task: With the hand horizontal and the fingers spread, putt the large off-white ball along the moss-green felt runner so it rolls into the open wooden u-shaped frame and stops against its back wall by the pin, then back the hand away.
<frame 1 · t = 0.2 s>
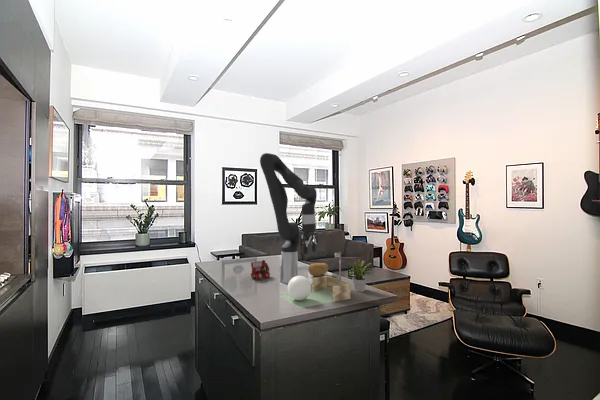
hand: (309, 252, 174), 17 cm above the countertop, tool pointing down, fingers open, 8 cm apart
ball: (299, 288, 147), point 6 cm above the countertop, touching green mat
green mat: (326, 295, 154), on the countertop
house plant: (358, 291, 162), on the countertop
wooden u-shaped frame: (326, 295, 154), resting on green mat
toy fire truck: (260, 278, 189), on the countertop
potato: (318, 276, 194), on the countertop
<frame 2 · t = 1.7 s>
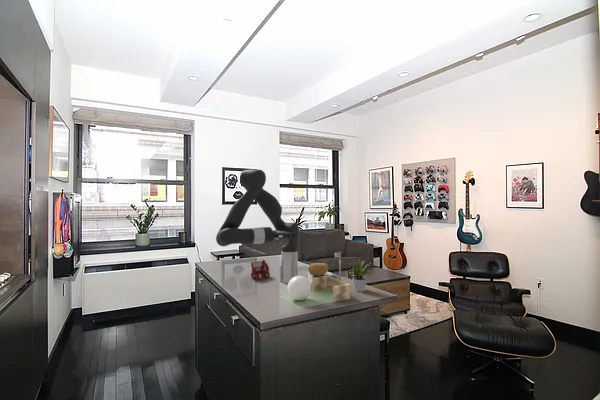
hand: (292, 234, 155), 30 cm above the countertop, tool horizontal, fingers open, 8 cm apart
nothing on the countertop moved.
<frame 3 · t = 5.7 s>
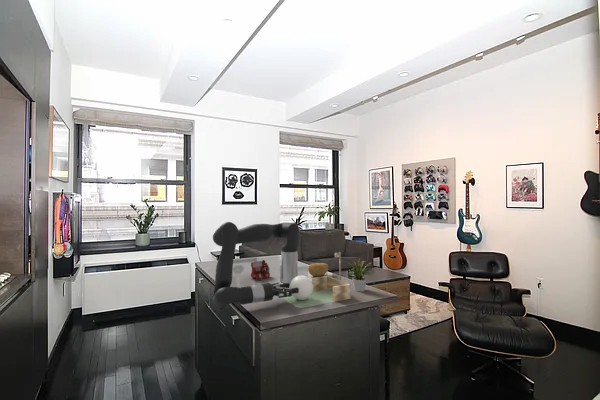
hand: (293, 287, 145), 6 cm above the countertop, tool horizontal, fingers open, 8 cm apart
ball: (301, 287, 147), point 6 cm above the countertop, tilted 10°, touching green mat
everything else where it was.
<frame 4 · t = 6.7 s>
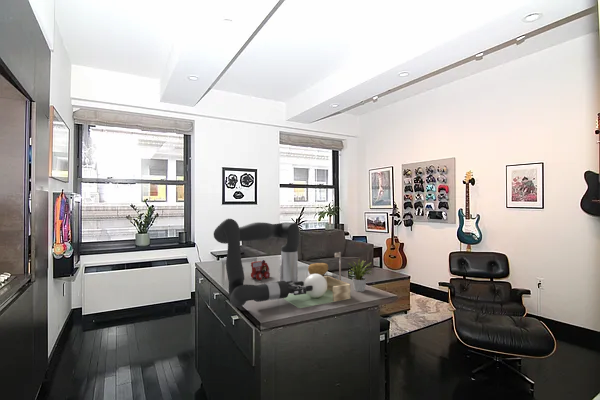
hand: (307, 285, 149), 6 cm above the countertop, tool horizontal, fingers open, 8 cm apart
ball: (315, 285, 151), point 6 cm above the countertop, tilted 89°, touching green mat
everything else where it was.
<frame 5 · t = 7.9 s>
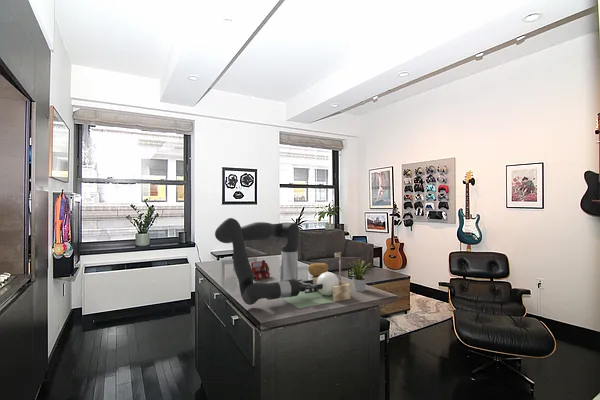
hand: (317, 284, 151), 6 cm above the countertop, tool horizontal, fingers open, 8 cm apart
ball: (327, 283, 154), point 6 cm above the countertop, tilted 160°, touching green mat
everything else where it was.
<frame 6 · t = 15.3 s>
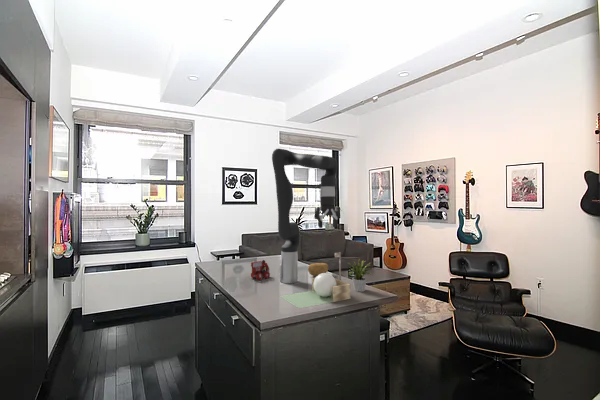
hand: (327, 227, 164), 32 cm above the countertop, tool pointing down, fingers open, 8 cm apart
ball: (324, 284, 152), point 6 cm above the countertop, tilted 137°, touching green mat
everything else where it was.
at the end: ball 2.2 cm from the wooden u-shaped frame (horizontally); ball point 5.8 cm above the countertop; ball moved 13.2 cm from its start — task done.
